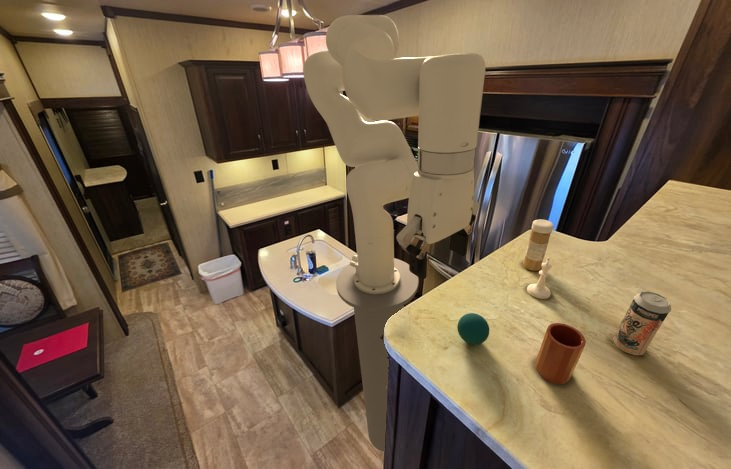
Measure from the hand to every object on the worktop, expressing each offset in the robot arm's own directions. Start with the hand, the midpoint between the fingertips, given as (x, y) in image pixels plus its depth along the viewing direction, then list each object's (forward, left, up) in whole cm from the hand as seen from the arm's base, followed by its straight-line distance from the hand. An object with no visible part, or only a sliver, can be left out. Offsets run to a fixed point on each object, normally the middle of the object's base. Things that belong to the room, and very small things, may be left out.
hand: (438, 263), depth 48 cm
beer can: (+29, +23, -21) cm, 42 cm away
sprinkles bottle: (+8, +40, -21) cm, 46 cm away
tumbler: (+19, +9, -21) cm, 30 cm away
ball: (+5, +7, -21) cm, 22 cm away
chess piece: (+12, +30, -21) cm, 38 cm away
